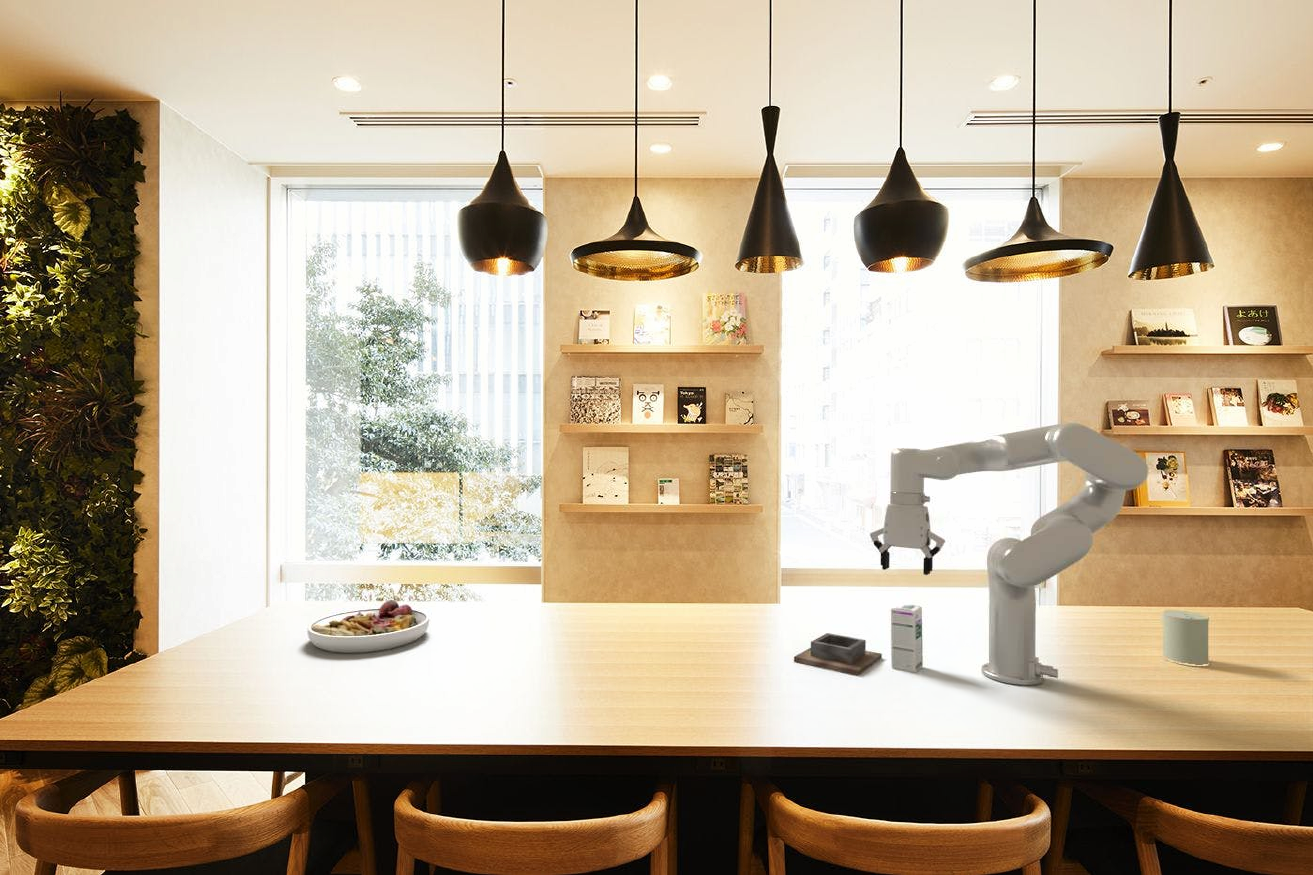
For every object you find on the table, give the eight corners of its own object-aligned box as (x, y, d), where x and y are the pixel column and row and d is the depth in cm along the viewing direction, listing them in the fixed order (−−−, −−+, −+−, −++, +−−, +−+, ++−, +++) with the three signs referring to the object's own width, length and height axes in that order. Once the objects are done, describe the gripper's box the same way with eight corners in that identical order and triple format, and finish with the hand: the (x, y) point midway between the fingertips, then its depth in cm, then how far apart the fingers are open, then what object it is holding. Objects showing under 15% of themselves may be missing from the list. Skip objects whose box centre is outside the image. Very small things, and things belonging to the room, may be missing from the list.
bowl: (403, 658, 165) (403, 626, 165) (282, 656, 166) (283, 624, 166) (444, 625, 195) (444, 598, 195) (342, 624, 196) (342, 597, 196)
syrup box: (915, 673, 156) (916, 610, 156) (890, 668, 160) (890, 607, 160) (922, 667, 161) (923, 606, 161) (897, 662, 164) (898, 602, 164)
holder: (881, 658, 167) (881, 639, 167) (858, 675, 154) (858, 655, 154) (821, 646, 176) (821, 628, 176) (794, 661, 164) (794, 642, 164)
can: (1166, 663, 165) (1166, 614, 165) (1158, 653, 173) (1158, 606, 173) (1213, 669, 161) (1213, 619, 161) (1203, 658, 169) (1203, 611, 169)
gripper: (949, 501, 158) (948, 573, 158) (876, 496, 169) (875, 565, 169) (940, 503, 152) (939, 578, 152) (865, 498, 163) (864, 569, 163)
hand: (905, 571), depth 160 cm, fingers open, 9 cm apart
